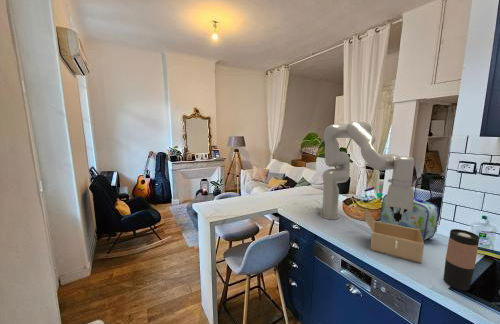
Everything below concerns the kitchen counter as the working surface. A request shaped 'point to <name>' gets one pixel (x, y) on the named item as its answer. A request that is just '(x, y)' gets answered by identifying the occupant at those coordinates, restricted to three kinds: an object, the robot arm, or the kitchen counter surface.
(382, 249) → the carton
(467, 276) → the travel mug
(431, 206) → the lunch box
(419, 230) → the right flap
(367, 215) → the left flap
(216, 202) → the kitchen counter surface
